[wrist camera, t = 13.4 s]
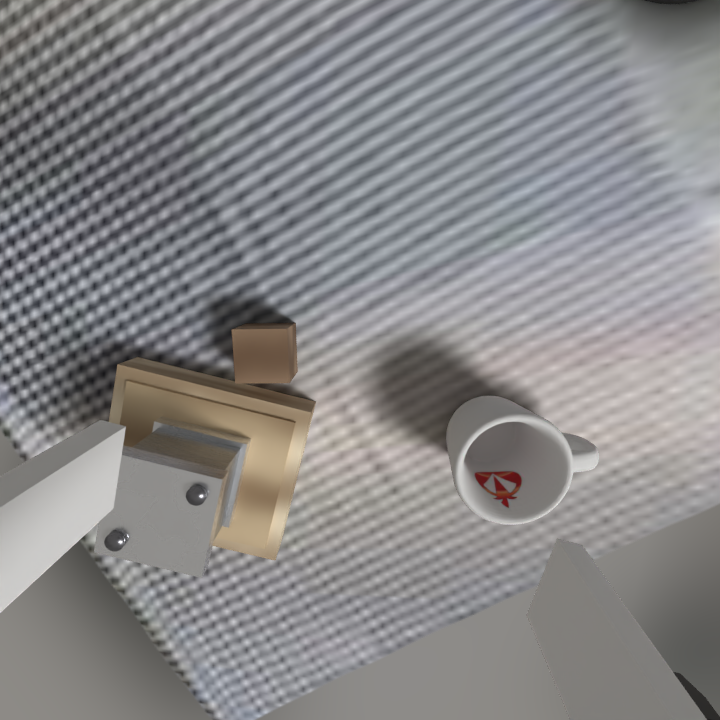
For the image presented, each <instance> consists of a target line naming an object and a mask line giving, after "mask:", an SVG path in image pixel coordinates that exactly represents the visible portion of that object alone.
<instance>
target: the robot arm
mask: <svg viewBox="0 0 720 720" xmlns="http://www.w3.org/2000/svg"><path fill="white" fill-rule="evenodd" d="M646 1H650V2H655V3H663V4H679V3H687V2H693V1H697V0H646ZM125 430H126V426H123V425H119V424H115V423H111V422H107V421H103V420H99V421H97V422H96V423H94V424H92V425H90V426H89V427H87V428H85V429H83V430H81V431H80V432H78V433H76V434H74V435H72V436H71V437H69V438H67V439H65V440H64V441H62V442H60V443H58V444H56V445H55V446H53V447H51V448H49V449H48V450H46V451H44V452H42V453H40V454H39V455H37V456H35V457H33V458H31V459H30V460H28V461H26V462H24V463H23V464H21V465H19V466H17V467H15V468H14V469H12V470H10V471H8V472H7V473H5V474H3V475H1V476H0V613H1V612H2V611H3V610H4V609H5V608H6V607H7V606H8V605H9V604H10V603H11V602H12V601H14V600H15V599H16V598H17V597H18V596H19V595H20V594H21V593H22V592H23V591H24V590H25V589H27V588H28V587H29V586H30V585H31V584H32V583H33V582H34V581H35V580H36V579H37V578H39V577H40V576H41V575H42V574H43V573H44V572H45V571H46V570H47V569H48V568H49V567H50V566H52V565H53V564H54V563H55V562H56V561H57V560H58V559H59V558H60V557H61V556H62V555H64V554H65V553H66V552H67V551H68V550H69V549H70V548H71V547H72V546H73V545H74V544H75V543H77V541H79V540H80V539H81V538H82V537H83V536H84V535H85V534H86V533H87V532H89V531H90V530H91V529H92V528H93V527H94V526H95V525H96V524H97V523H98V522H99V521H100V520H102V519H103V518H104V517H105V516H106V515H107V514H108V513H109V512H110V511H111V510H112V509H113V508H114V501H115V495H116V488H117V482H118V475H119V469H120V462H121V456H122V449H123V443H124V436H125ZM527 618H528V620H529V622H530V625H531V627H532V629H533V632H534V634H535V637H536V639H537V642H538V644H539V646H540V649H541V651H542V654H543V656H544V659H545V661H546V663H547V666H548V668H549V670H550V673H551V675H552V678H553V680H554V683H555V685H556V688H557V690H558V692H559V695H560V697H561V700H562V702H563V704H564V707H565V709H566V712H567V714H568V716H569V719H570V720H720V717H719V715H718V714H717V713H716V711H715V710H714V709H713V707H712V706H711V705H710V703H709V702H708V701H707V699H706V698H705V697H704V696H703V695H702V694H701V693H700V692H699V691H698V690H697V689H696V688H695V687H694V686H693V685H692V684H691V683H689V682H688V681H687V680H686V679H685V678H684V677H683V676H682V675H681V674H679V673H675V672H673V671H672V670H671V669H670V667H669V666H668V664H667V663H666V662H665V660H664V659H663V657H662V656H661V655H660V653H659V652H658V650H657V649H656V648H655V646H654V645H653V643H652V642H651V641H650V639H649V638H648V637H647V635H646V634H645V632H644V631H643V630H642V628H641V627H640V625H639V624H638V623H637V621H636V620H635V618H634V617H633V616H632V614H631V613H630V611H629V610H628V609H627V607H626V606H625V604H624V603H623V602H622V600H621V599H620V597H619V596H618V595H617V593H616V592H615V590H614V589H613V588H612V586H611V585H610V583H609V582H608V581H607V579H606V578H605V576H604V575H603V574H602V572H601V571H600V569H599V568H598V567H597V565H596V564H595V562H594V561H593V560H592V558H591V557H590V555H589V554H588V553H587V551H586V550H585V548H584V547H583V546H582V545H580V544H576V543H572V542H569V541H565V540H561V539H557V540H556V543H555V545H554V548H553V550H552V553H551V555H550V558H549V560H548V563H547V565H546V568H545V570H544V573H543V575H542V578H541V580H540V583H539V585H538V588H537V590H536V593H535V595H534V598H533V600H532V603H531V605H530V608H529V610H528V613H527Z"/></svg>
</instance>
